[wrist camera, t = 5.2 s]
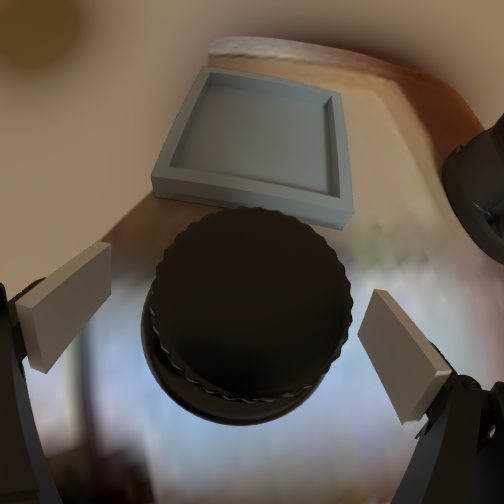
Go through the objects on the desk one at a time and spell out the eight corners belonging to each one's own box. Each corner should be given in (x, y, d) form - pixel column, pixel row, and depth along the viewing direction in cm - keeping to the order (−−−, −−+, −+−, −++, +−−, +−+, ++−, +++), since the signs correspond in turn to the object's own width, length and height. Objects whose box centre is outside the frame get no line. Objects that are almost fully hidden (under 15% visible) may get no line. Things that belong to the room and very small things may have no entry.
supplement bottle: (158, 313, 18) (96, 196, 7) (263, 288, 20) (329, 157, 9) (187, 422, 15) (148, 477, 5) (298, 390, 17) (426, 376, 6)
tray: (333, 110, 29) (340, 93, 27) (341, 230, 22) (354, 213, 20) (202, 85, 28) (202, 66, 26) (154, 196, 22) (150, 175, 19)
